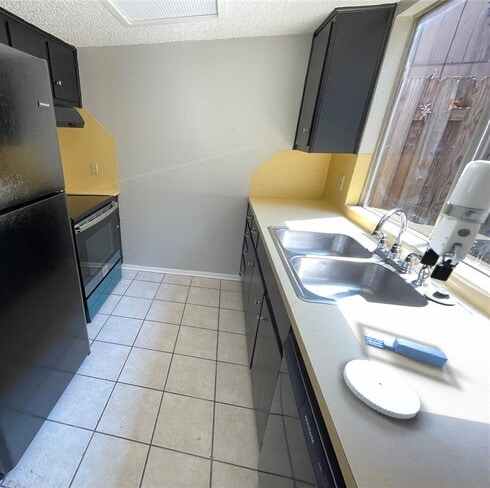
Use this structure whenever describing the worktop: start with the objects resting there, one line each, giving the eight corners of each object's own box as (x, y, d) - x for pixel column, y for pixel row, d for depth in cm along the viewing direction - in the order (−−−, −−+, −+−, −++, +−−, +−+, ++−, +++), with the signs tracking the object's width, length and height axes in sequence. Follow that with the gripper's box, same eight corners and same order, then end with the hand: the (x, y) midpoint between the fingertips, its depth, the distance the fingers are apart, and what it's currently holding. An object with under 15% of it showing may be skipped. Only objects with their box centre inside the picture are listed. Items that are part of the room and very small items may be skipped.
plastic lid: (402, 379, 64) (406, 372, 63) (427, 434, 52) (433, 426, 51) (338, 359, 69) (341, 352, 68) (347, 404, 58) (351, 397, 57)
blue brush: (436, 360, 70) (443, 351, 68) (441, 370, 67) (448, 360, 65) (364, 337, 77) (368, 327, 75) (365, 345, 74) (370, 335, 72)
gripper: (504, 225, 56) (463, 290, 63) (470, 208, 70) (439, 263, 77) (457, 218, 59) (423, 281, 66) (433, 203, 73) (407, 256, 80)
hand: (431, 271), depth 72 cm, fingers open, 9 cm apart
